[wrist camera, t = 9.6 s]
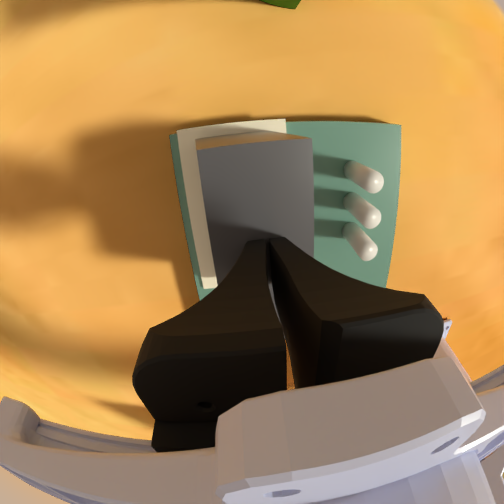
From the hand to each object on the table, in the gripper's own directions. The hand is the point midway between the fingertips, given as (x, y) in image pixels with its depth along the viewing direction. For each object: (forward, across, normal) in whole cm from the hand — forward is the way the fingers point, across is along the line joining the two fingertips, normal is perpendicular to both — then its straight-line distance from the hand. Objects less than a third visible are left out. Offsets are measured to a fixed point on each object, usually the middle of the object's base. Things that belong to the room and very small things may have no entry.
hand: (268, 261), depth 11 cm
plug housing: (+6, +1, 0) cm, 6 cm away
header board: (+8, -2, +2) cm, 9 cm away
